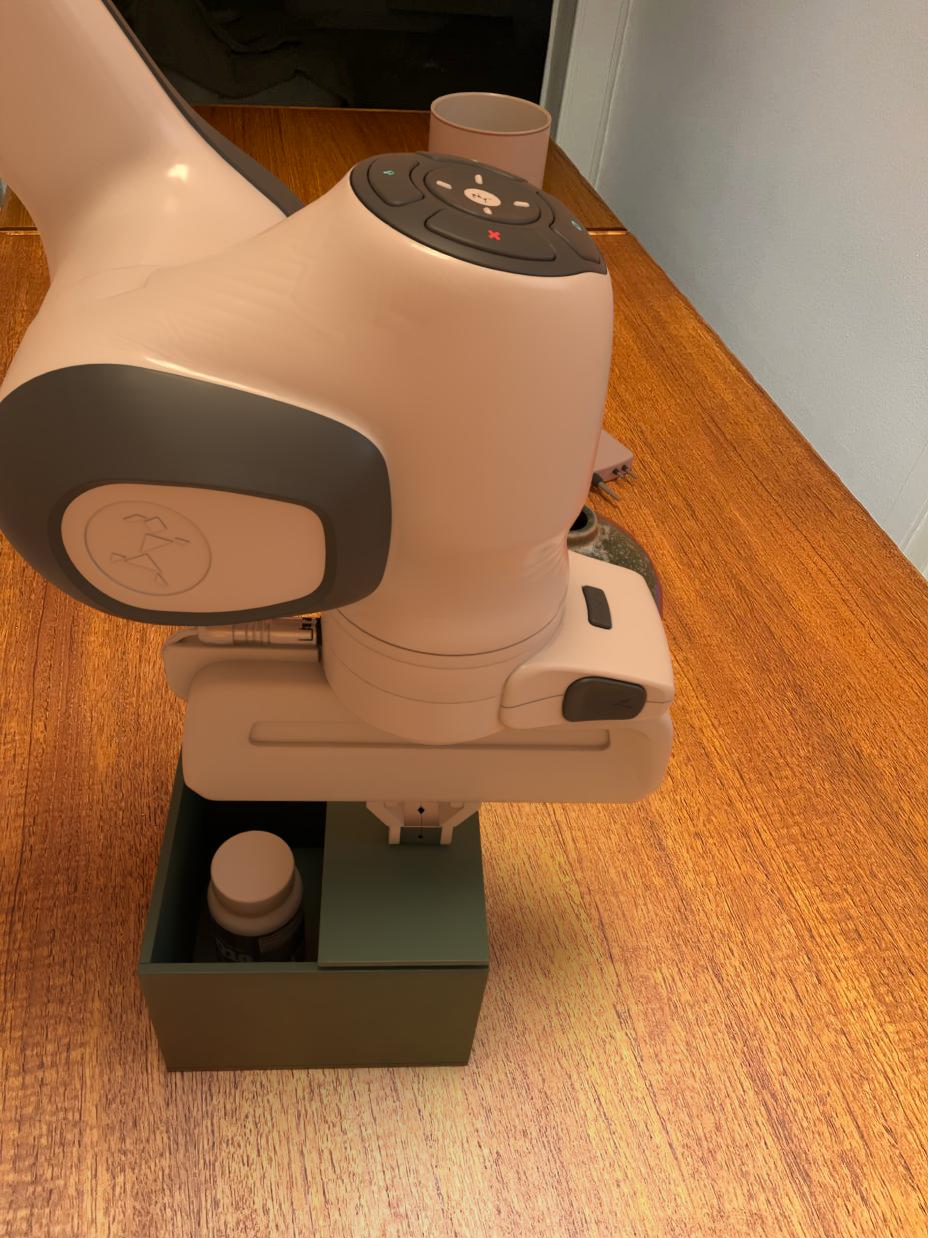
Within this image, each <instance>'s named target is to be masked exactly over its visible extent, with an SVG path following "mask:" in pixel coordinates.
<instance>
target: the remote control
mask: <svg viewBox="0 0 928 1238" xmlns="http://www.w3.org/2000/svg"><path fill="white" fill-rule="evenodd" d="M634 456H635V454H634V452H632V451H631V450H630V449H629V448H627V447H626V446H625V445H624V444H623V443H621V442H620V441H619V440H618V439H616V438H615V437H614V436H612V435H611V433H609V432H607V431H606V430H605V429H604V428H602V429H601V435H600V440H599V446H598V451H597V456H596V461H595V466H594V471H593V476H592V481H591V485H590V487H592V486H593V487H594V488H599V489H601V491H603V492H604V493H605V494H607V495H609V496H610V497H612V498H613V499H614V500H615V501H617V502H619V501H621V497H619V496H618V495H616V494H615V492H614V491H613V490H612V489H611V488H610V487H609V486H608V485H606V483H605V482H609V481H611V480H614V479H616V478H620V479H622V480H623V479H624V477H625V476H624V475H626V474H628V475H629V476H630V477H631V478H632V479H634V480H636V479H637V478H638V476H637V475H636V474H635V473H633V472H632V471H631V468H632V465H633V461H634Z"/></svg>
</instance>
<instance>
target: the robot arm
mask: <svg viewBox="0 0 928 1238" xmlns="http://www.w3.org/2000/svg"><path fill="white" fill-rule="evenodd" d="M0 179H1V180H2V181H3V182H4V183H5V184H6V185H7V186H8V187H9V188H10V189H11V191H12V192H13V193H14V194H15V195H16V197H17V198H18V199H19V200H20V202H21V203H22V205H23V206H24V208H25V209H26V210H27V212H28V214H29V215H30V218H31V220H32V221H33V224H34V225H35V228H36V231H37V232H38V235H39V237H40V241H41V243H42V247H43V250H44V251H43V252H44V254H45V258H46V262H47V268H48V274H49V283H50V285H49V287H48V290H47V292H46V294H45V297H44V298H43V301H42V302H41V305H40V308H39V309H38V311H37V313H36V315H35V317H34V318H33V320H32V321H31V322H30V324H29V325H28V327H27V329H26V330H25V333H24V335H23V336H22V339H21V342H20V344H19V346H18V348H17V350H16V352H15V354H14V356H13V359H12V361H11V363H10V365H9V368H8V369H7V371H6V373H5V377H4V379H3V382H2V384H1V386H0V531H1V533H2V534H3V536H4V538H5V539H6V540H7V542H8V543H9V544H10V545H11V547H12V548H13V549H14V550H15V552H16V553H17V554H18V555H19V556H20V557H21V558H22V559H23V560H24V561H25V562H26V564H28V565H29V566H30V568H32V569H33V570H34V572H36V573H37V574H38V575H40V577H42V578H43V579H44V580H46V581H47V582H49V583H50V584H51V585H53V586H54V587H56V589H58V590H60V591H61V592H62V593H64V594H66V595H67V596H69V597H70V598H72V599H74V600H76V601H77V602H78V603H79V602H80V603H82V604H84V605H85V606H87V607H89V608H91V609H93V610H96V611H98V612H100V613H103V614H106V615H109V616H112V617H115V618H119V619H122V620H126V621H130V622H135V623H140V624H146V625H153V626H164V627H165V626H167V627H181V628H179V629H178V630H175V631H174V632H173V633H171V634H170V635H169V636H168V637H167V639H166V640H165V642H164V643H163V647H162V652H161V656H162V661H163V668H164V672H165V677H166V678H165V679H166V681H167V685H168V687H169V688H170V690H171V691H172V692H173V694H174V695H176V697H177V698H179V699H181V701H183V702H186V707H185V712H184V718H183V727H182V739H181V743H182V765H183V775H184V781H185V783H186V785H187V786H188V787H189V788H191V789H192V790H193V791H195V792H196V793H198V794H199V795H201V796H202V797H204V798H206V799H209V800H219V801H227V800H237V801H366V807H367V808H368V809H369V810H370V811H371V812H372V813H373V814H374V815H375V816H377V817H378V818H379V819H380V820H381V821H382V822H383V823H384V824H385V825H386V826H389V844H451V839H452V832H453V827H456V826H457V825H459V824H460V823H461V822H463V821H464V820H465V819H467V818H468V817H469V816H471V815H472V814H473V813H475V812H476V811H478V810H479V811H480V809H481V808H482V803H501V804H502V803H508V804H509V803H510V804H511V803H513V804H514V803H515V804H518V803H519V804H522V803H523V804H532V803H533V804H620V805H628V804H629V805H630V804H636V803H638V802H641V801H643V800H645V799H646V798H648V797H650V796H651V795H654V794H655V793H656V792H658V791H659V790H660V788H661V786H662V784H663V783H664V780H665V776H666V774H667V771H668V768H669V764H670V759H671V754H672V749H673V742H674V735H675V734H674V733H675V732H674V731H675V729H674V724H673V720H672V716H671V711H670V707H671V705H672V703H673V700H674V698H675V694H676V686H675V676H674V675H675V674H674V669H673V663H672V656H671V652H670V647H669V642H668V637H667V634H666V631H665V628H664V624H663V620H662V621H661V617H660V615H659V612H658V609H657V606H656V604H655V602H654V599H653V597H652V594H651V592H650V590H649V588H648V586H647V584H646V582H645V580H644V578H643V577H642V576H641V575H640V574H638V573H636V572H635V571H632V570H630V569H627V568H624V567H620V566H617V565H613V564H610V563H607V562H603V561H600V560H597V559H594V558H590V557H587V556H584V555H581V554H578V553H575V552H572V551H570V550H568V549H567V536H568V533H569V530H570V528H571V526H572V525H573V523H574V522H575V520H576V519H577V517H578V516H579V514H580V512H581V510H582V508H583V506H584V504H585V505H586V502H587V499H588V497H589V492H590V489H591V486H590V485H591V481H592V476H593V471H594V466H595V461H596V456H597V451H598V446H599V440H600V435H601V429H603V424H604V416H605V409H606V402H607V395H608V391H609V390H608V389H609V382H610V374H611V367H612V366H611V364H612V356H613V355H612V354H613V345H614V343H613V342H614V323H615V321H614V320H615V309H614V307H615V306H614V292H613V290H614V289H613V284H612V278H611V274H610V271H609V267H608V266H607V262H606V260H605V259H604V256H603V255H602V253H601V251H600V249H599V248H598V246H597V244H596V243H595V240H594V239H593V237H592V236H591V233H589V231H588V229H587V228H586V227H585V225H584V224H583V223H582V222H581V221H580V220H579V219H578V217H577V216H576V215H575V214H574V212H572V211H571V210H570V209H569V207H567V206H566V205H565V204H564V203H563V202H562V201H560V199H559V198H557V197H556V196H554V195H552V194H550V193H547V192H545V191H544V190H543V189H542V190H541V189H539V188H537V187H535V186H534V185H532V184H530V183H528V181H527V180H526V179H524V178H521V177H519V176H517V175H515V174H512V173H510V172H507V171H505V170H502V169H500V168H497V167H494V166H491V165H488V164H485V163H482V162H478V161H475V160H472V159H468V158H464V157H459V156H454V155H449V154H443V153H436V152H428V151H426V150H425V151H424V150H417V151H415V152H389V153H388V152H387V153H381V154H377V155H373V156H370V157H368V158H365V159H362V160H360V161H359V162H358V163H356V164H354V165H353V166H352V167H351V168H350V169H349V170H348V171H347V172H346V173H345V174H344V175H343V176H342V178H341V179H340V180H339V181H338V182H337V183H335V184H334V185H333V187H331V188H330V189H329V190H328V191H327V192H326V193H324V194H323V195H321V196H319V197H318V198H317V199H315V200H313V201H312V202H310V203H309V204H307V205H305V204H304V202H303V201H302V200H301V199H300V198H299V197H298V196H297V195H296V194H295V192H293V191H292V190H291V188H289V187H288V186H287V185H286V184H285V183H284V182H283V181H282V180H280V179H279V178H278V177H277V176H276V175H274V173H272V172H271V171H270V170H269V169H267V168H266V167H265V166H264V165H262V164H261V163H260V162H258V160H255V158H253V157H252V156H251V155H249V154H247V152H245V151H244V150H242V149H241V148H239V146H237V145H236V144H234V143H233V142H232V141H230V139H228V138H227V137H226V136H225V135H223V134H222V133H220V132H219V131H218V130H216V128H214V127H213V126H212V125H211V124H210V123H209V122H207V120H205V119H204V118H203V117H202V116H201V115H200V114H199V113H198V112H197V111H196V110H194V108H192V106H191V105H190V104H189V103H188V102H187V101H186V100H185V98H183V96H182V95H181V94H180V93H179V92H178V91H177V89H176V88H175V87H174V86H173V85H172V84H171V82H170V81H169V80H168V78H167V77H166V76H165V75H164V73H163V72H162V71H161V69H160V68H159V67H158V65H157V64H156V62H155V61H154V60H153V58H152V57H151V55H150V54H149V53H148V51H147V50H146V48H145V47H144V45H143V44H142V42H141V41H140V40H139V38H138V37H137V35H136V34H135V33H134V31H133V30H132V28H131V27H130V25H129V24H128V22H127V21H126V19H125V18H124V16H123V15H122V14H121V12H120V10H118V8H117V6H116V4H114V2H113V1H112V0H0ZM316 613H320V616H319V617H318V616H305V615H311V614H316Z"/></svg>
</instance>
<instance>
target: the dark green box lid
mask: <svg viewBox="0 0 928 1238" xmlns="http://www.w3.org/2000/svg"><path fill="white" fill-rule="evenodd" d="M482 851H483V850H482V838H481V825H480V809H479V810H478V811H476V812H475V813H473V814H472V815H471V816H469V817H468V818H467V819H465V820H464V821H463V822H461V823H460V824H459V825H457V826H456V827H453V832H452V839H451V844H389V826H386V825H385V824H384V823H383V822H382V821H381V820H380V819H379V818H378V817H377V816H375V815H374V814H373V813H372V812H371V811H370V810H369V809H368V808H367V807H366V801H327V809H326V826H325V844H324V861H323V878H322V895H321V912H320V930H319V947H318V966H319V967H322V966H427V965H489V966H490V962H491V959H490V958H491V957H490V943H489V930H488V917H487V903H486V892H485V877H484V866H483V865H484V863H483V852H482Z"/></svg>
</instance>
